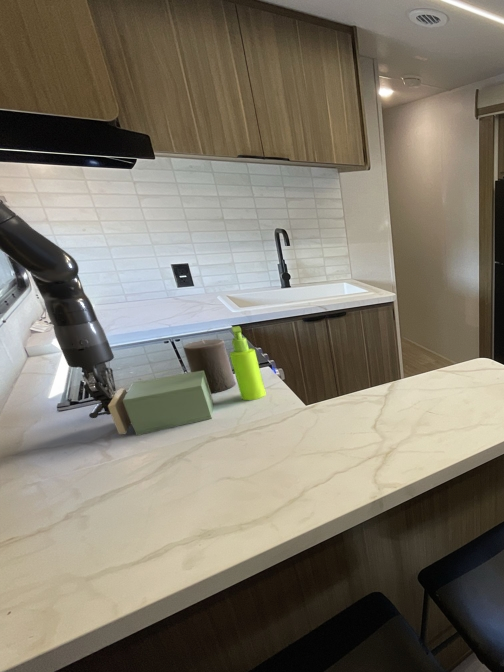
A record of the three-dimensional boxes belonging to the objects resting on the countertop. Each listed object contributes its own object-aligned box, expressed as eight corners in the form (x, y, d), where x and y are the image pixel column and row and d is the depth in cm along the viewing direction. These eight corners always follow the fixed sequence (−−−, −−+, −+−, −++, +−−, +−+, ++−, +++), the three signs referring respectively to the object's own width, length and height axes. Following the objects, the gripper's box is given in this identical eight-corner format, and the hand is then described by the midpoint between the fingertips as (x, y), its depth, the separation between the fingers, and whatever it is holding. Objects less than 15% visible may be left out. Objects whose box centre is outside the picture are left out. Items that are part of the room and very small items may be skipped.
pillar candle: (222, 393, 115) (207, 343, 110) (189, 394, 115) (172, 344, 110) (243, 381, 124) (230, 334, 119) (212, 381, 125) (198, 334, 119)
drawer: (93, 440, 89) (81, 411, 87) (106, 420, 99) (95, 393, 96) (191, 418, 98) (182, 391, 96) (194, 402, 108) (186, 377, 105)
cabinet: (136, 435, 93) (122, 400, 90) (145, 414, 103) (133, 382, 100) (211, 418, 100) (201, 385, 97) (213, 400, 110) (203, 370, 107)
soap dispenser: (243, 403, 108) (223, 331, 101) (240, 395, 114) (221, 326, 106) (267, 397, 111) (250, 327, 104) (264, 390, 117) (247, 323, 110)
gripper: (69, 338, 92) (99, 407, 98) (49, 352, 81) (83, 428, 87) (113, 333, 95) (138, 399, 102) (99, 346, 85) (128, 419, 91)
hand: (113, 412), depth 95 cm, fingers closed
